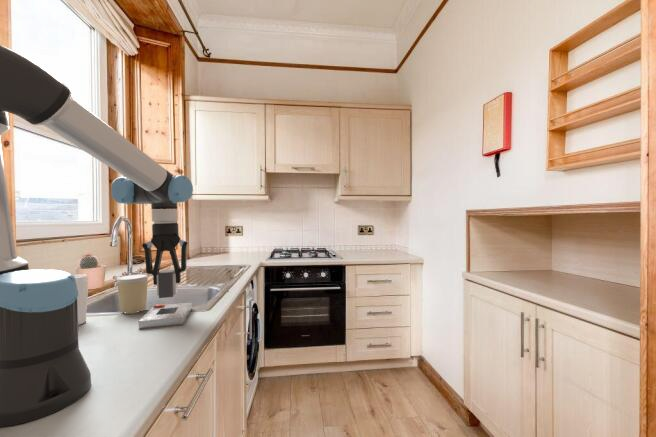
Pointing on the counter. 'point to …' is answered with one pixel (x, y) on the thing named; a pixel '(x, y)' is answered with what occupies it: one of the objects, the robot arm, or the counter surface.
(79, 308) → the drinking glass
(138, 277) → the coffee cup
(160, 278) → the plug
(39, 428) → the counter surface
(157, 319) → the socket plate
